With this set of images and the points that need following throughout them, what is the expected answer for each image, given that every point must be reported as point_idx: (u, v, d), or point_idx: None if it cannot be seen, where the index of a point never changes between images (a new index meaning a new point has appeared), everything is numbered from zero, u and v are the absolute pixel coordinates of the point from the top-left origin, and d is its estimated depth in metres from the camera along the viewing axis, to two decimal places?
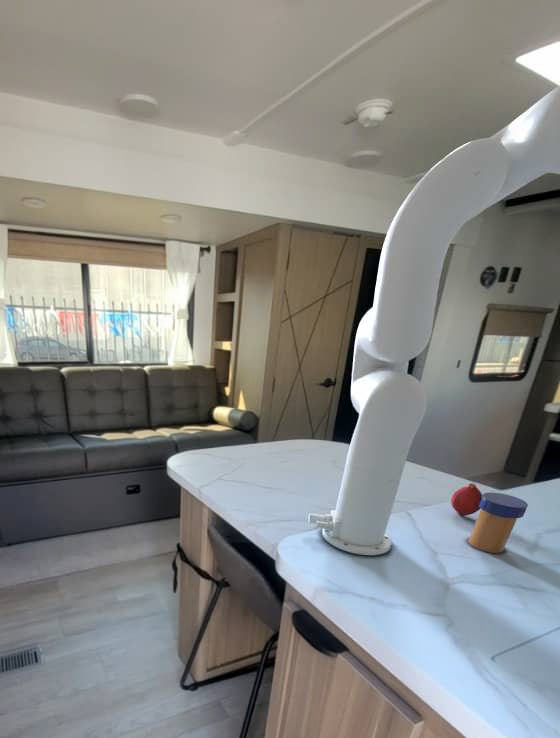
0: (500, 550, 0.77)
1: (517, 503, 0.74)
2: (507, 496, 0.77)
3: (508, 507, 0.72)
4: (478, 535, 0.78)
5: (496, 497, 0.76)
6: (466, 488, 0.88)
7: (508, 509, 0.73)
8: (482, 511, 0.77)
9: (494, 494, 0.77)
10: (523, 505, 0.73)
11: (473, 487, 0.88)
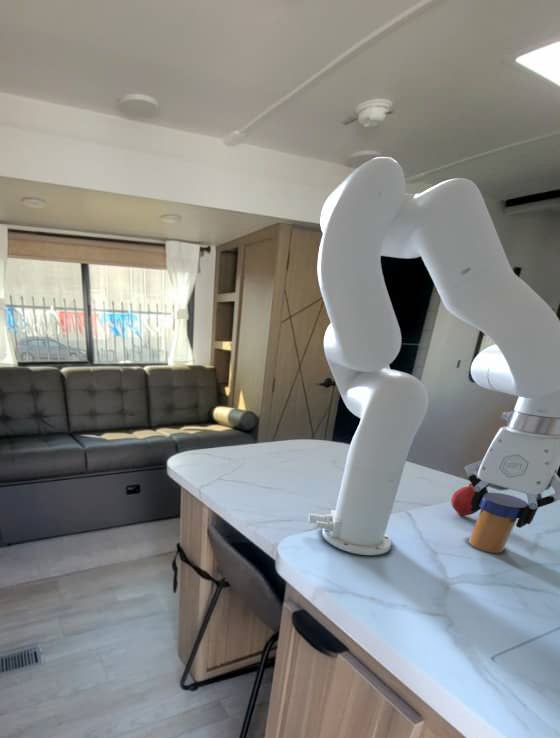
0: (500, 550, 0.77)
1: (517, 503, 0.74)
2: (507, 496, 0.77)
3: (508, 507, 0.72)
4: (478, 535, 0.78)
5: (496, 497, 0.76)
6: (466, 488, 0.88)
7: (508, 509, 0.73)
8: (482, 511, 0.77)
9: (494, 494, 0.77)
10: (523, 505, 0.73)
11: (473, 487, 0.88)
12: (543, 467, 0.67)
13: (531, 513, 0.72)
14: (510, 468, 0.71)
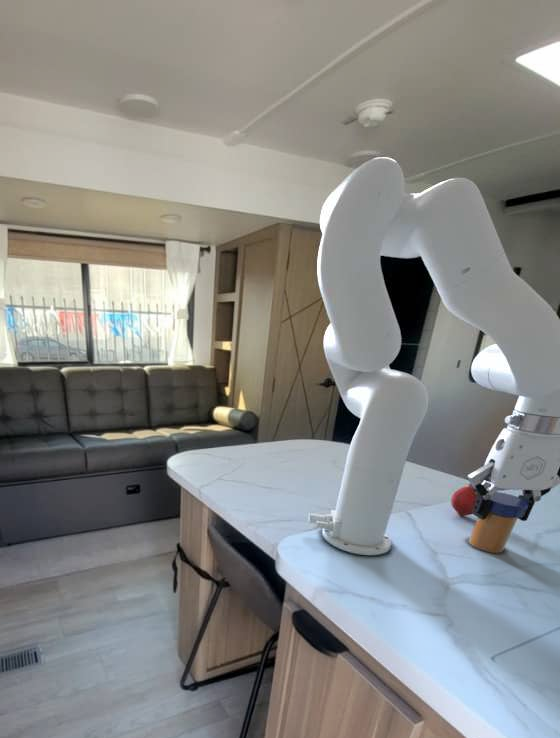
0: (500, 550, 0.77)
1: (516, 499, 0.75)
2: (495, 494, 0.77)
3: (526, 507, 0.72)
4: (479, 534, 0.78)
5: (499, 499, 0.75)
6: (466, 488, 0.88)
7: (526, 508, 0.73)
8: None
9: None
10: (521, 499, 0.75)
11: None
12: (557, 463, 0.69)
13: None
14: (529, 471, 0.70)
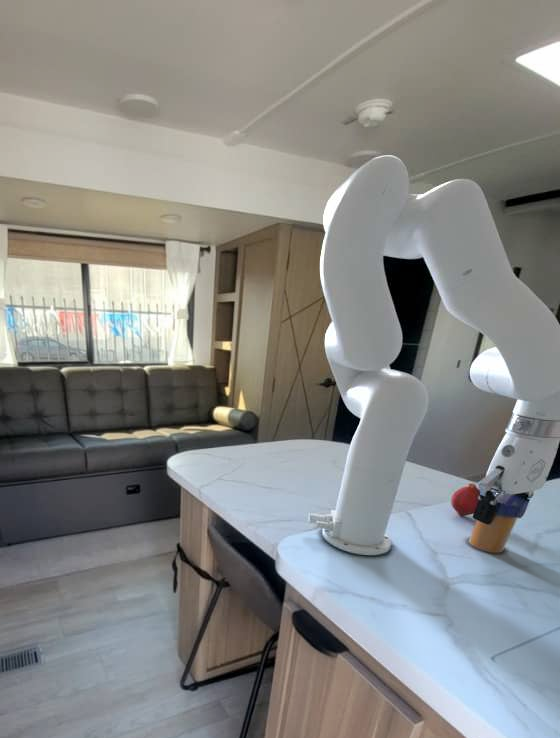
0: (500, 550, 0.77)
1: (509, 496, 0.76)
2: None
3: (527, 503, 0.74)
4: (478, 535, 0.78)
5: (503, 500, 0.74)
6: (466, 488, 0.88)
7: None
8: None
9: None
10: (512, 495, 0.76)
11: (473, 487, 0.88)
12: (551, 463, 0.71)
13: None
14: (533, 474, 0.70)
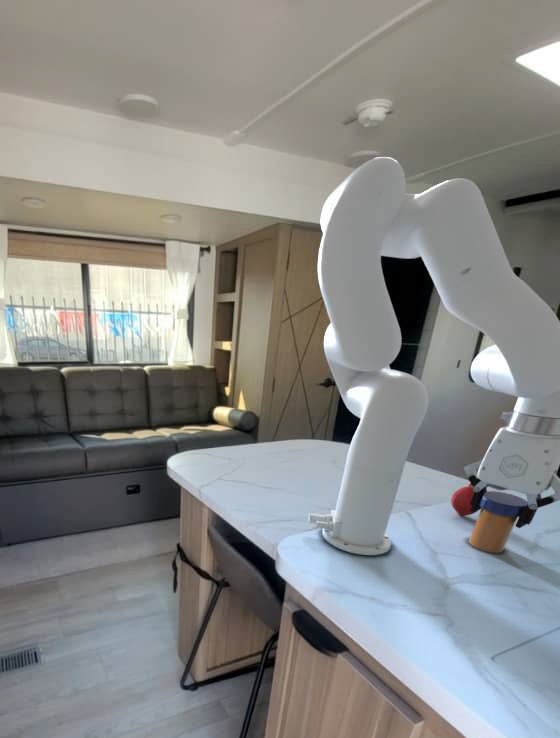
0: (500, 550, 0.77)
1: (509, 496, 0.76)
2: (490, 494, 0.77)
3: (527, 503, 0.74)
4: (478, 535, 0.78)
5: (503, 500, 0.74)
6: (466, 488, 0.88)
7: None
8: (482, 511, 0.77)
9: (493, 498, 0.75)
10: (512, 495, 0.76)
11: None
12: (543, 467, 0.67)
13: (531, 513, 0.72)
14: (510, 468, 0.71)
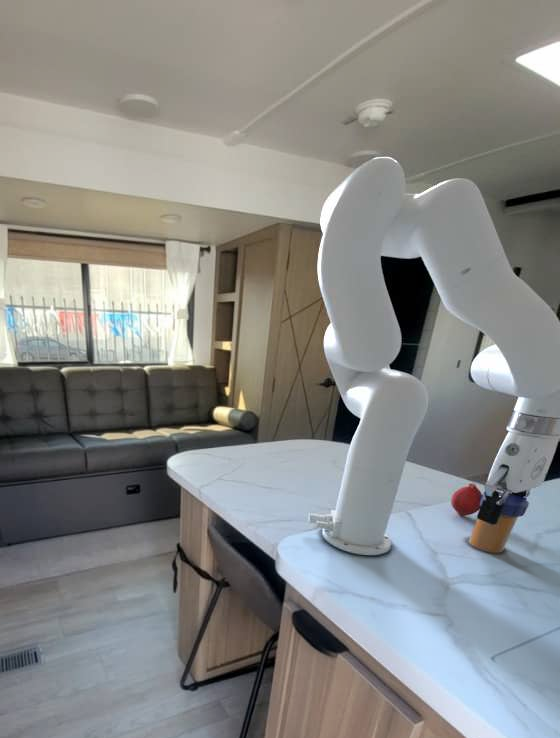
0: (500, 550, 0.77)
1: None
2: None
3: None
4: (478, 535, 0.78)
5: (513, 500, 0.74)
6: (466, 488, 0.88)
7: None
8: None
9: (515, 503, 0.73)
10: None
11: (473, 487, 0.88)
12: (550, 460, 0.71)
13: None
14: (535, 471, 0.70)
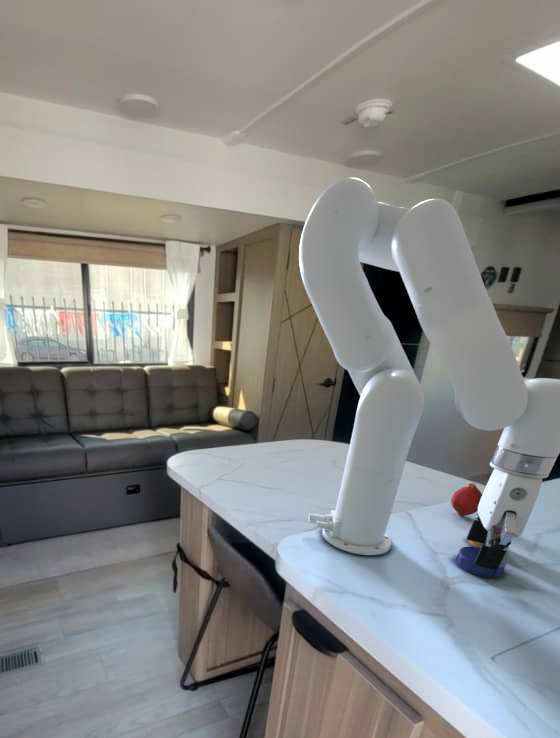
0: None
1: (469, 553, 0.72)
2: None
3: (468, 547, 0.75)
4: None
5: None
6: (466, 488, 0.88)
7: None
8: None
9: None
10: (463, 551, 0.73)
11: (473, 487, 0.88)
12: None
13: None
14: None
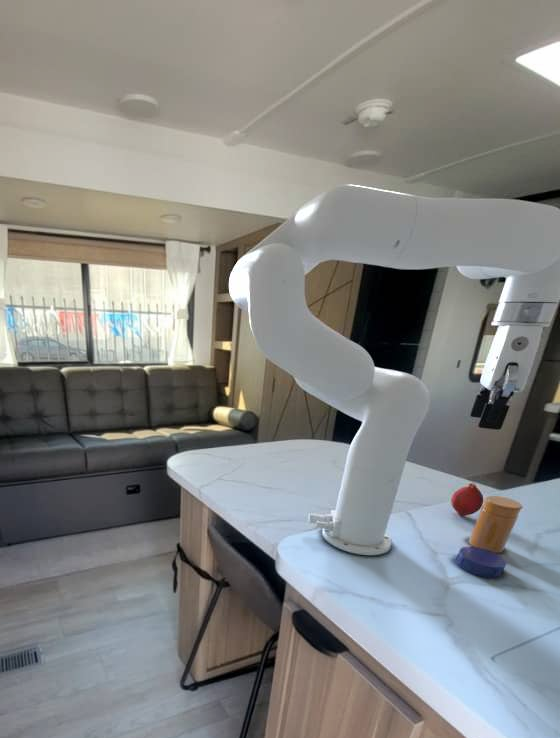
0: (500, 550, 0.77)
1: (469, 553, 0.72)
2: (487, 563, 0.69)
3: (468, 547, 0.75)
4: (478, 535, 0.78)
5: (491, 557, 0.71)
6: (466, 488, 0.88)
7: None
8: (482, 511, 0.77)
9: (498, 562, 0.70)
10: (463, 551, 0.73)
11: (473, 487, 0.88)
12: None
13: None
14: None
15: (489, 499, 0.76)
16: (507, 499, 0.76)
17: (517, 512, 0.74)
